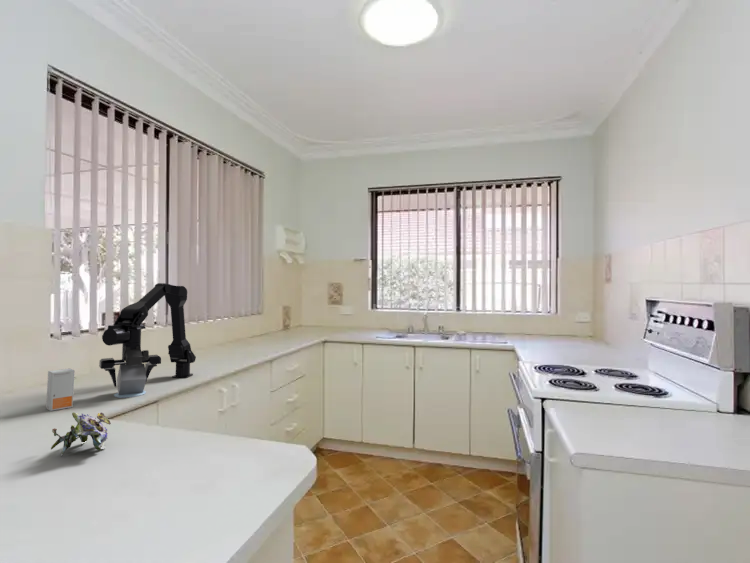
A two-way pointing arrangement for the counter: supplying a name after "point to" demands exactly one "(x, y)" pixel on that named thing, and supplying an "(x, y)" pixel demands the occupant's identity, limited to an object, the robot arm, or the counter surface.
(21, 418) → the counter surface
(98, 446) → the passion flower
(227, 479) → the counter surface
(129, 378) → the matte grey cuboid
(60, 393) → the skincare box
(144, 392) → the disc
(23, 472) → the counter surface
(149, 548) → the counter surface
